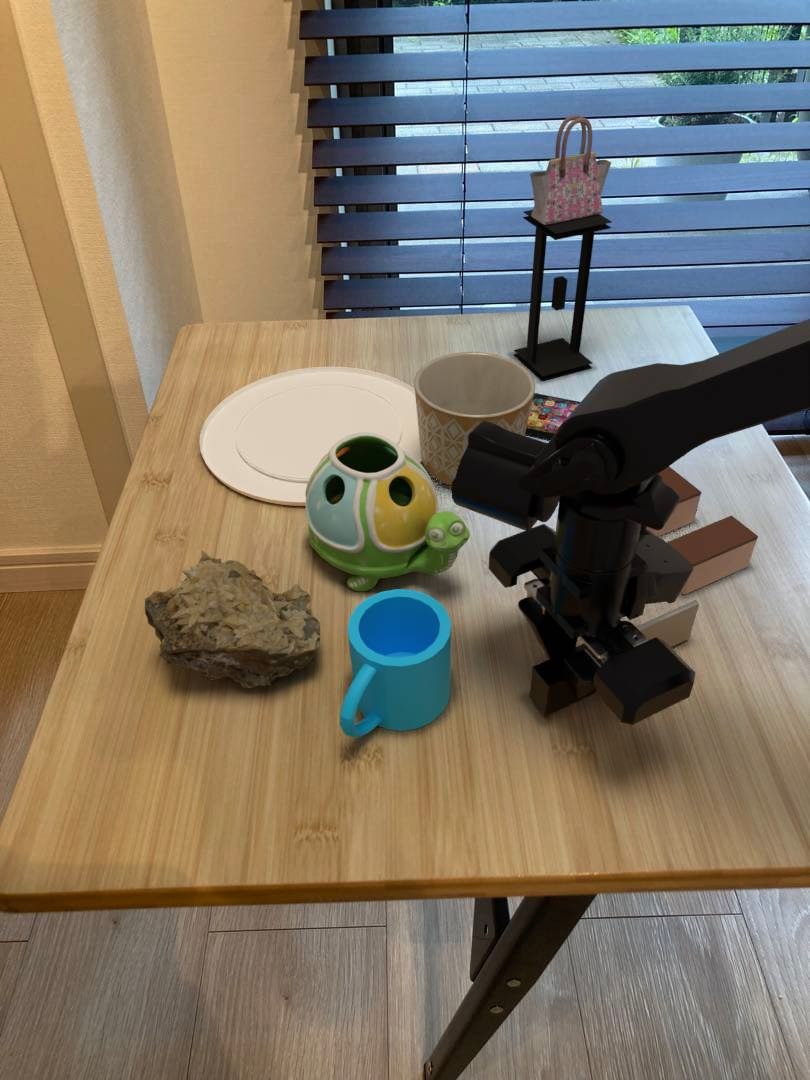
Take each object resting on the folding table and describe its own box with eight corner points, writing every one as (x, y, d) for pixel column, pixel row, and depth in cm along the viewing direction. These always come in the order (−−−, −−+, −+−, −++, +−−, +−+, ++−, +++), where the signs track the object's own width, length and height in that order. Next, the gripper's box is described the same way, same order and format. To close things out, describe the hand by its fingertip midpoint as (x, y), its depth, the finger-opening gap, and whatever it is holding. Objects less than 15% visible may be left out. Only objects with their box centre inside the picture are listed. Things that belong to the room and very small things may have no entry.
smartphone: (505, 386, 105) (625, 410, 101) (505, 393, 106) (624, 416, 101) (485, 419, 100) (611, 446, 95) (484, 426, 101) (609, 452, 96)
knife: (545, 717, 69) (549, 682, 66) (528, 696, 71) (532, 662, 68) (697, 645, 74) (707, 610, 71) (678, 627, 76) (687, 592, 73)
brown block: (748, 566, 82) (758, 536, 79) (683, 595, 79) (692, 564, 77) (722, 545, 84) (731, 515, 82) (659, 572, 82) (666, 542, 79)
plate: (430, 367, 111) (430, 362, 111) (444, 502, 90) (444, 497, 90) (217, 375, 111) (217, 370, 110) (182, 512, 90) (181, 507, 90)
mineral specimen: (345, 602, 80) (337, 522, 73) (311, 713, 70) (297, 633, 64) (200, 586, 82) (178, 508, 75) (147, 692, 72) (118, 613, 66)
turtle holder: (414, 639, 76) (412, 541, 68) (284, 548, 86) (268, 453, 78) (500, 568, 83) (507, 471, 75) (370, 491, 92) (364, 398, 84)
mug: (389, 640, 76) (385, 575, 71) (468, 678, 73) (470, 613, 67) (306, 735, 69) (295, 671, 63) (389, 782, 65) (385, 719, 60)
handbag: (532, 383, 108) (553, 133, 88) (504, 357, 113) (518, 114, 93) (602, 365, 111) (638, 118, 91) (572, 340, 116) (599, 101, 96)
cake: (693, 522, 87) (701, 491, 84) (631, 547, 84) (637, 516, 82) (643, 480, 92) (649, 450, 90) (583, 502, 90) (588, 473, 87)
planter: (521, 430, 100) (529, 352, 93) (530, 498, 91) (540, 417, 84) (414, 428, 100) (415, 350, 93) (412, 496, 91) (413, 415, 84)
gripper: (778, 588, 56) (725, 727, 67) (606, 445, 69) (584, 582, 79) (645, 649, 53) (611, 786, 63) (488, 487, 65) (482, 624, 76)
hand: (571, 683), depth 70 cm, fingers closed on knife, 2 cm apart
